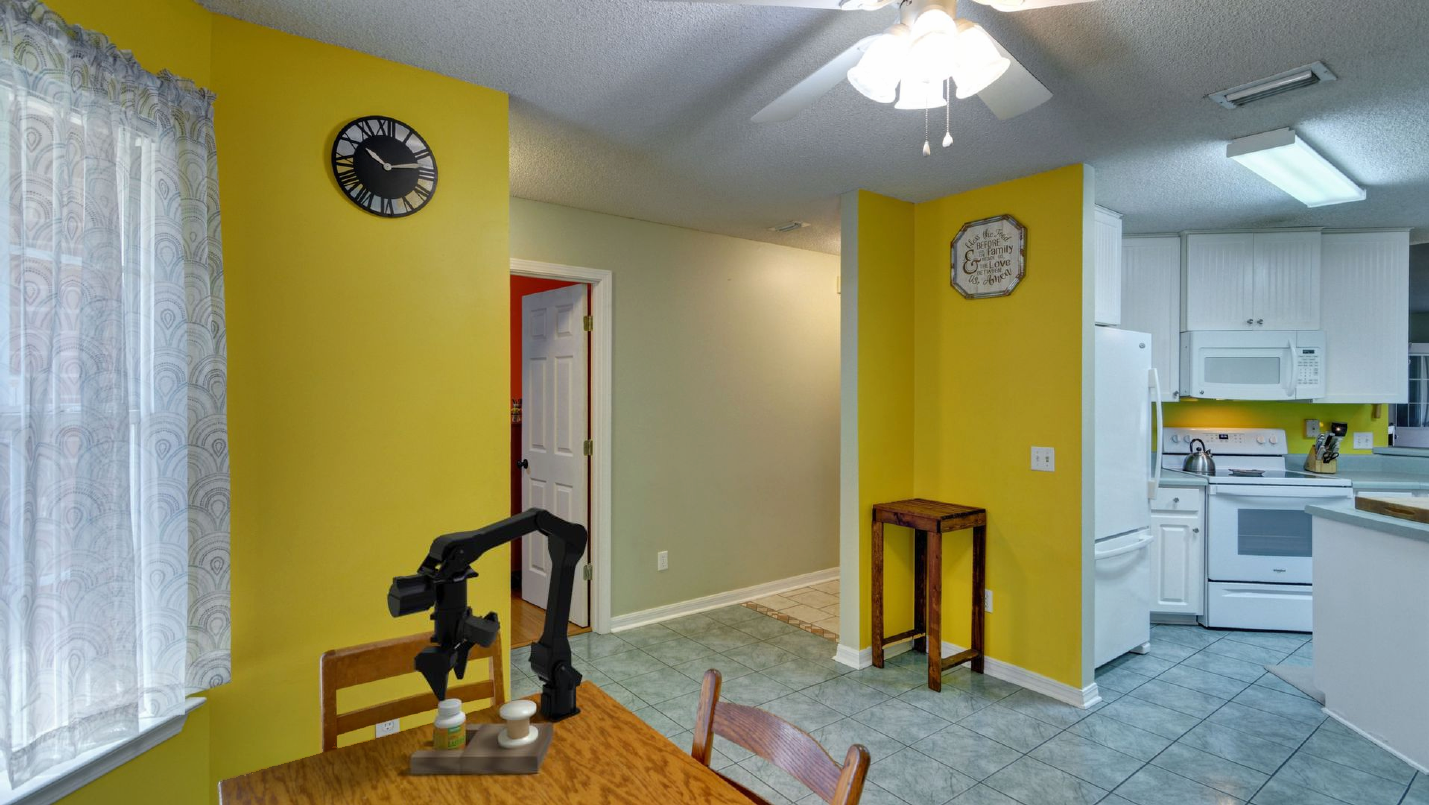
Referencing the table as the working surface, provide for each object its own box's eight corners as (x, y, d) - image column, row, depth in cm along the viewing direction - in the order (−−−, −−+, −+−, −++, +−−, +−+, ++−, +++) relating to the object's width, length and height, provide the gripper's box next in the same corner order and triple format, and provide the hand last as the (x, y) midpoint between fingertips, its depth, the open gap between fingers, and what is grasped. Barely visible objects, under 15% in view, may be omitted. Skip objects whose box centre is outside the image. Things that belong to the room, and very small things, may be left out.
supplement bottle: (448, 767, 121) (448, 712, 121) (427, 759, 123) (427, 706, 123) (471, 753, 126) (471, 700, 125) (451, 746, 128) (451, 694, 128)
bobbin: (525, 726, 129) (525, 695, 129) (545, 739, 125) (545, 707, 125) (491, 739, 124) (491, 707, 124) (510, 753, 120) (510, 720, 120)
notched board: (553, 739, 131) (553, 723, 131) (537, 773, 119) (537, 756, 119) (437, 740, 130) (437, 724, 130) (410, 774, 118) (410, 757, 118)
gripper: (478, 621, 116) (478, 712, 116) (509, 590, 134) (509, 669, 134) (412, 621, 116) (412, 713, 116) (452, 590, 134) (453, 669, 134)
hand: (451, 689), depth 125 cm, fingers open, 9 cm apart
